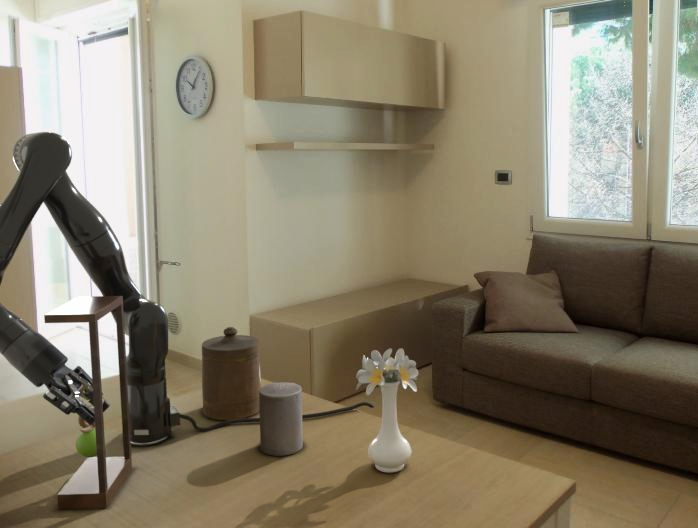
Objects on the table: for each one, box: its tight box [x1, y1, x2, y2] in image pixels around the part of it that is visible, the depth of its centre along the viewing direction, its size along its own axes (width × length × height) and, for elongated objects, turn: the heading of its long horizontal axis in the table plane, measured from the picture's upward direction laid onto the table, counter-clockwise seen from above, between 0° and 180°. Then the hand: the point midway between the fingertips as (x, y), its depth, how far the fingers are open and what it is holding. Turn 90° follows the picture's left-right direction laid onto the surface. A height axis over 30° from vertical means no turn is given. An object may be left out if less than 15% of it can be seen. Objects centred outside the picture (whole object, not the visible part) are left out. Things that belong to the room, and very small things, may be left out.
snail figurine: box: [75, 391, 107, 458], centre depth 135 cm, size 5×6×12 cm
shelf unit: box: [43, 295, 133, 511], centre depth 135 cm, size 9×16×38 cm, turn 3°
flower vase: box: [355, 348, 420, 474], centre depth 145 cm, size 13×18×25 cm
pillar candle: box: [258, 381, 304, 457], centre depth 155 cm, size 10×10×15 cm
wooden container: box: [201, 326, 262, 421], centre depth 177 cm, size 15×15×22 cm
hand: (100, 414), depth 135 cm, fingers closed on snail figurine, 5 cm apart
